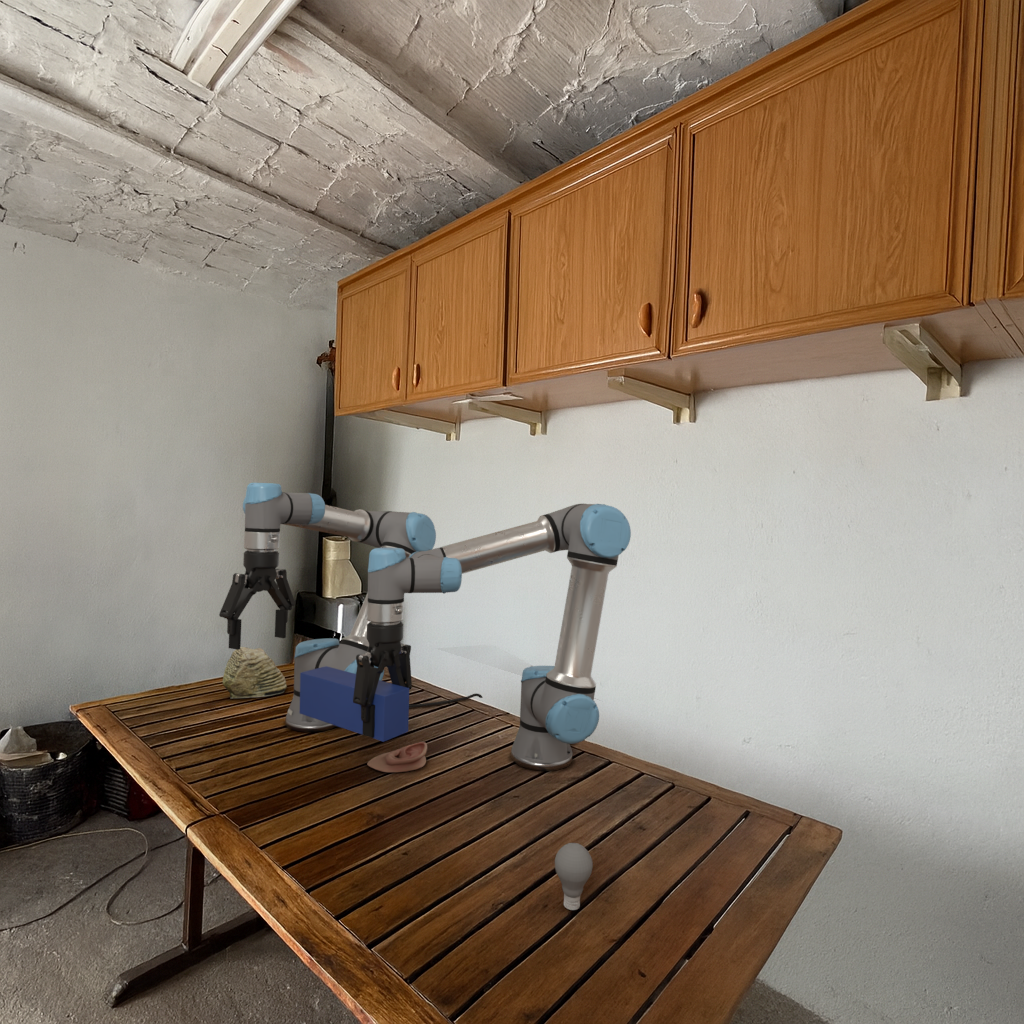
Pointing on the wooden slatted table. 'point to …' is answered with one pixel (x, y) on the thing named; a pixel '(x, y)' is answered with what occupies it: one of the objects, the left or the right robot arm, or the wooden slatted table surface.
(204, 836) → the wooden slatted table surface
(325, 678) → the box
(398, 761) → the anatomical model
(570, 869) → the light bulb
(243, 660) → the fossil
